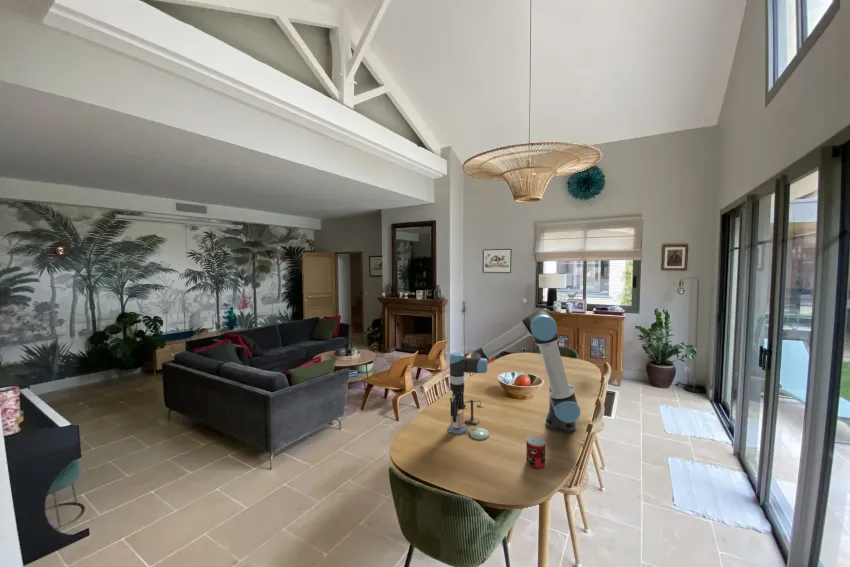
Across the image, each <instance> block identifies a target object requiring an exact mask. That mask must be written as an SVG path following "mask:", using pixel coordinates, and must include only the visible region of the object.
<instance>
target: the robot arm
mask: <svg viewBox="0 0 850 567" xmlns="http://www.w3.org/2000/svg"><path fill="white" fill-rule="evenodd" d="M528 337H532V338H533V340H534V344H535V345H536V346H538V347H539V348H538V349H539V352H540V355H541V358H542V362H543V365H544V368H545V371H546V374H547V379H548V382H549V388H548V390H549V392H548V393H549V396H548V397H549V398H548V400H549V403H548V404H549V406H548V407H549V408H548V411H547V412H548V413H547V415H546V417H545V425H546V427H547V428H549V429H550V430H552V431H555V432H560V433H571V432H574V431H575V430H576V428H577V423H576V421H578V419H579V418H580V416H581V408H580V405H579V404H578V401H577V398H576V394H575V393H576V392H575V390H574V387H573V385H572V384H571V383H569V381H568V377H567V374H566V371H565V367H564V363H563V360H562V356H561V353H560V349H559V345H558V341H559V339H560V337H559V333H558V326H557V322H556V321H555V319H554V318H553V317H552V316H551V314H549V313H548V312H547V311H545V310H536V311H534V312H532V313H530V314H529V315H528V316H526V317H525V318H524V319H521V320H520V323H519V324H517V325H515V326H514V327H512V328H511V329H508V331H506V332H504V333H502V334H501V335H500V336H497V338H496V337H495V339H493V340H491V341H489V342H488V343H486V344H485V345H483V346H482V347H480V348H478V349H477V348H476V349H474V350H473V351H472V352H471V353H470V357H465V354H464V353H463V352H453V353H450V355H449V375H448V376H449V377H448V378H449V389H450V391H451V392H452V395H451V396H452V397H450V398H449V402H450V417H451V416H453V427H455V428H458V415H457V411H458V409H462V410H464V411H465V409H463V408H464V404H465V403H464V401H465V397H464V394H465V373H468V374H469V373H471V374H474V373H475V374H487V372H488V361H489V360H490V359H492V358H494V357H495V356H497V355H499V354H500V353H502V352H503V351H506V350H507V349H509V348H511V347H512V346H513V345H515V344H517V343H518V342H520V341H522V340H524V339H525V338H528Z"/></svg>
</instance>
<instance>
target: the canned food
mask: <svg viewBox="0 0 850 567" xmlns="http://www.w3.org/2000/svg"><path fill="white" fill-rule="evenodd" d="M525 443H526V457H525V458H526V464H527V465H528V466H529V467H530V468H532V469H537V470H539V469H543V468H544V467H545V466H546V440H545V439H544V438H543V437H540V436H537V435H531V436H528V437H527V438H526V442H525Z"/></svg>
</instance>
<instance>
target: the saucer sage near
mask: <svg viewBox="0 0 850 567" xmlns="http://www.w3.org/2000/svg"><path fill="white" fill-rule="evenodd" d="M468 432H469V434H468V435H469V436H471V437H470V438H472V439H473V438H474V440H477V441H483V440H487V439H488V438H490V432H489V430H488V429H486V428H483V427H473V428H471V429H470V430H469V431H468Z"/></svg>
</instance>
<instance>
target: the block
mask: <svg viewBox="0 0 850 567" xmlns="http://www.w3.org/2000/svg"><path fill="white" fill-rule="evenodd" d="M464 411H465V409H464V410H462V409H458V411H457V415H458V428H461V427H462V426H463V424H465V420H464V417H465V414H464V413H465V412H464ZM450 424H451V426H452V427H453V416H451V415H450Z"/></svg>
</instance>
